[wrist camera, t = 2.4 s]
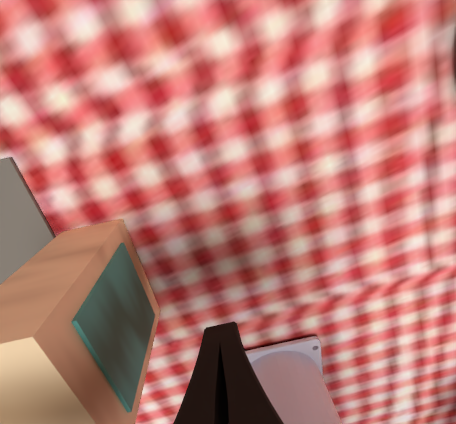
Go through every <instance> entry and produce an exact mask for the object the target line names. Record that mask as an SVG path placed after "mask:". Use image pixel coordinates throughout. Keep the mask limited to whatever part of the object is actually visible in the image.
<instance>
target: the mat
mask: <svg viewBox="0 0 456 424" xmlns="http://www.w3.org/2000/svg"><path fill="white" fill-rule="evenodd" d="M54 238H55V235H54V233H53V231H52V230H51V228H50V226H49V224H48V222H47V221H46V219H45V217H44V215H43V213H42V212H41V210H40V208H39V206H38V204H37V203H36V201H35V199H34V197H33V195H32V193H31V192H30V190H29V188H28V186H27V184H26V183H25V181H24V179H23V177H22V175H21V174H20V172H19V170H18V168H17V166H16V165H15V163H14V161H13V159H12V157H11V158H6V159H2V160H0V284H2V283H3V282H4V281H5V280H6V279H7V278H9V277H10V276H11V275H12V274H13V273H14V272H16V271H17V270H18V269H19V268H20V267H21V266H23V265H24V264H25V263H26V262H27V261H28V260H30V259H31V258H32V257H33V256H34V255H35V254H37V253H38V252H39V251H40V250H41V249H42V248H44V247H45V246H46V245H47V244H48V243H49V242H51V241H52V240H53V239H54Z"/></svg>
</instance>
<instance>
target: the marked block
mask: <svg viewBox="0 0 456 424" xmlns="http://www.w3.org/2000/svg"><path fill="white" fill-rule="evenodd" d="M159 315H160V308H159V306H158V303H157V301H156V298H155V296H154V294H153V291H152V289H151V286H150V284H149V282H148V279H147V277H146V274H145V272H144V270H143V267H142V265H141V262H140V260H139V257H138V255H137V253H136V250H135V248H134V245H133V243H132V241H131V238H130V236H129V233H128V231H127V229H126V226H125V224H124V221H123V219H118V220H113V221H109V222H104V223H100V224H95V225H91V226H86V227H81V228H77V229H72V230H68V231H63V232H61V233H60V234H59V235H58V236H56V237H55V238H54V239H53V240H52V241H51V242H49V243H48V244H47V245H46V246H45V247H44V248H42V249H41V250H40V251H39V252H38V253H37V254H35V255H34V256H33V257H32V258H31V259H30V260H28V261H27V262H26V263H25V264H24V265H23V266H21V267H20V268H19V269H18V270H17V271H16V272H14V273H13V274H12V275H11V276H10V277H9V278H7V279H6V280H5V281H4V282H3V283H2V284H0V424H135V421H136V417H137V412H138V408H139V403H140V399H141V395H142V390H143V386H144V381H145V377H146V372H147V368H148V364H149V359H150V355H151V350H152V346H153V341H154V337H155V333H156V328H157V324H158V319H159Z"/></svg>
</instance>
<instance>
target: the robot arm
mask: <svg viewBox="0 0 456 424" xmlns="http://www.w3.org/2000/svg"><path fill="white" fill-rule="evenodd" d="M173 424H342V422H341V419H340V417H339V415H338V412H337V410H336V408H335V405H334V403H333V401H332V399H331V396H330V394H329V392H328V389H327V387H326V385H325V382H324V380H323V369H322V355H321V342H320V340H319V338H318V337H316V336H312V337H307V338H303V339H298V340H294V341H289V342H284V343H280V344H275V345H271V346H266V347H261V348H257V349H252V350H248V351H245V350H244V348H243V345H242V342H241V338H240V334H239V330H238V326H237V323H235V322H230V323H226V324H221V325H217V326H212V327H207V328H206V329H205V330H204V335H203V339H202V343H201V347H200V351H199V355H198V358H197V361H196V365H195V368H194V371H193V374H192V377H191V380H190V383H189V386H188V388H187V391H186V394H185V396H184V399H183V401H182V404H181V407H180V409H179V412H178V414H177V416H176V419H175V421H174V423H173Z"/></svg>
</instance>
